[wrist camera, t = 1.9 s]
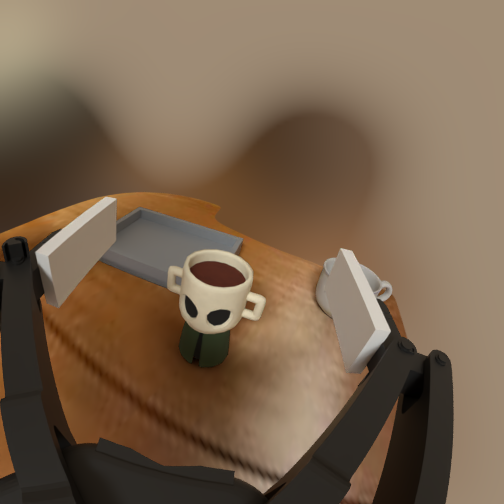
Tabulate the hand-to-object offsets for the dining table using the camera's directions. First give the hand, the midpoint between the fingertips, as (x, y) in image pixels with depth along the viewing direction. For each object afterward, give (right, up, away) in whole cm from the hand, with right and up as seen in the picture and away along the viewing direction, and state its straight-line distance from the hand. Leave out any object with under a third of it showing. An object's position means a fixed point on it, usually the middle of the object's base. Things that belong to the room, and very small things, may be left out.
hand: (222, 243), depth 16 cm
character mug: (-5, -13, +19) cm, 23 cm away
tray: (-14, -1, +35) cm, 38 cm away
